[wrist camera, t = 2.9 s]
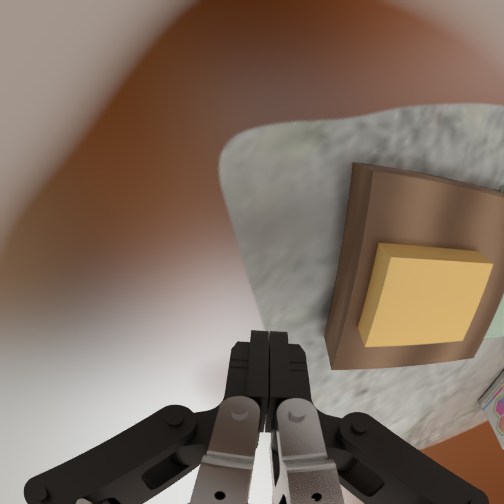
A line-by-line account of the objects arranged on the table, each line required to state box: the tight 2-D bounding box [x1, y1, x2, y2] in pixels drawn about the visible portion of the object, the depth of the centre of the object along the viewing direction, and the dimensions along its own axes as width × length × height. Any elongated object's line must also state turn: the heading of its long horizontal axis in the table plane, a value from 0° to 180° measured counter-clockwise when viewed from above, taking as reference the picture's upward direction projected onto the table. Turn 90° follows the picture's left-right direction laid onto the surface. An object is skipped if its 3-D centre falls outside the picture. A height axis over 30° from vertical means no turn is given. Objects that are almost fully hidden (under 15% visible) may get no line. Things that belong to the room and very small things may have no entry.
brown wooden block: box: [324, 162, 504, 370], centre depth 19 cm, size 14×14×4 cm
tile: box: [358, 243, 493, 347], centre depth 16 cm, size 8×6×2 cm
